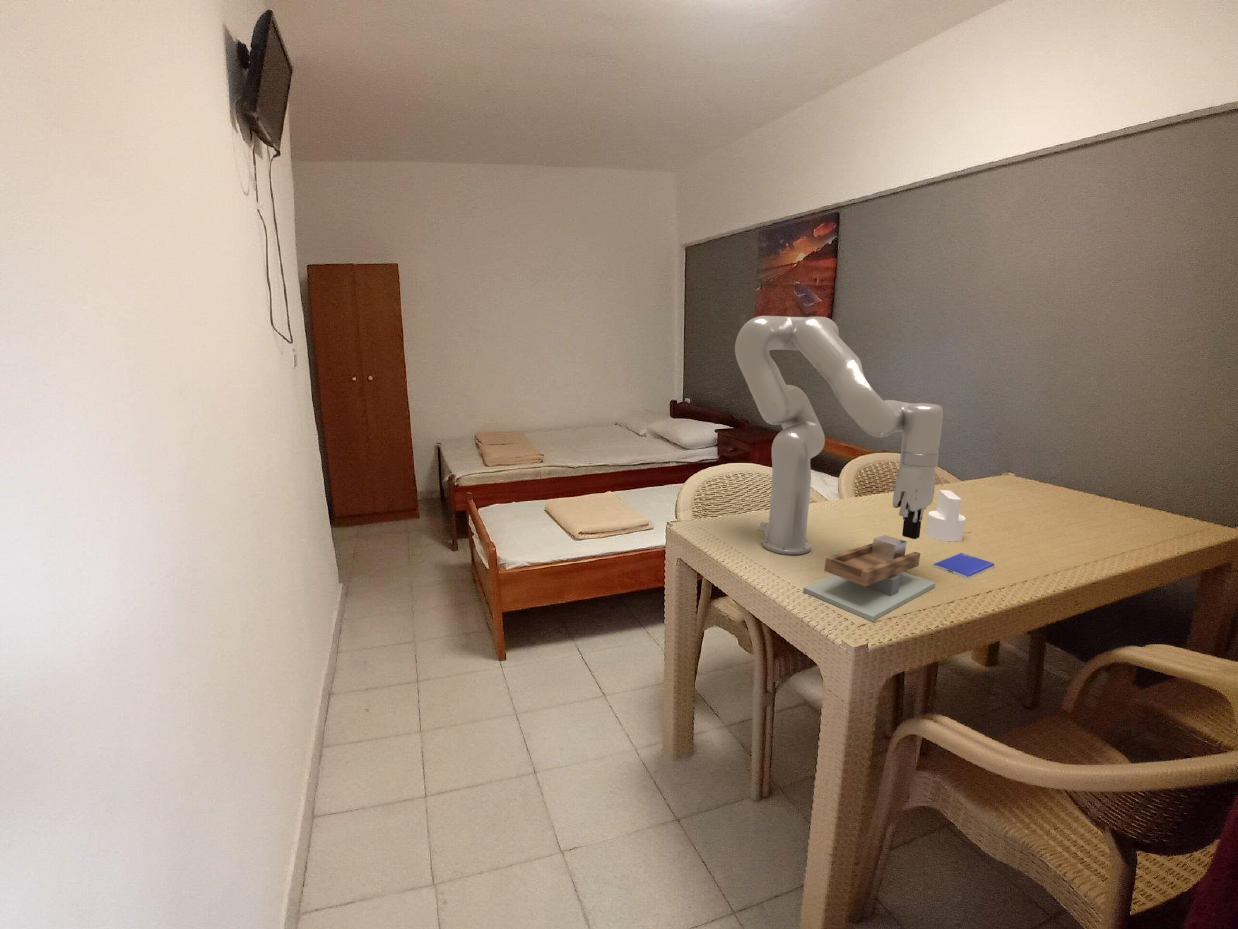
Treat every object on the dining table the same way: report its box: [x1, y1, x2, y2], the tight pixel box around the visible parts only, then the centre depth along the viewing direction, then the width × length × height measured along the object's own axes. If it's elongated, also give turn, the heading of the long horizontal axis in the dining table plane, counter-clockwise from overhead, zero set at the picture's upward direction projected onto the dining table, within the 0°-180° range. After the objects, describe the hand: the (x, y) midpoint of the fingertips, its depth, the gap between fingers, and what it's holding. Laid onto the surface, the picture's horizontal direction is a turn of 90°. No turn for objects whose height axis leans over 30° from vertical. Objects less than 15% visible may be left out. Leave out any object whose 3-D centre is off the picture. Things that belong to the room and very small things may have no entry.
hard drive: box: [932, 552, 995, 579], centre depth 143 cm, size 2×8×12 cm
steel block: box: [871, 534, 908, 561], centre depth 132 cm, size 5×5×4 cm
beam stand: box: [802, 571, 936, 622], centre depth 129 cm, size 26×16×5 cm, turn 127°
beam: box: [824, 542, 921, 586], centre depth 128 cm, size 22×9×3 cm, turn 127°
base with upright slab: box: [925, 489, 966, 543], centre depth 162 cm, size 9×9×12 cm
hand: (910, 536), depth 136 cm, fingers closed
